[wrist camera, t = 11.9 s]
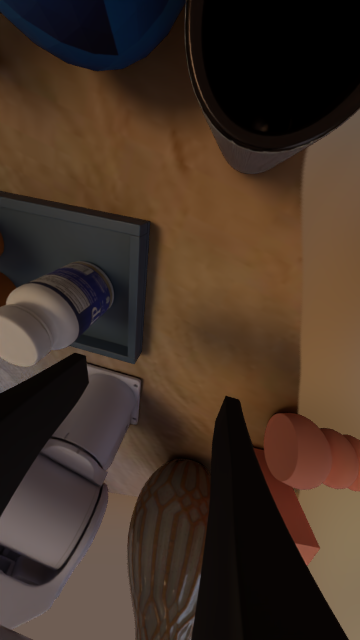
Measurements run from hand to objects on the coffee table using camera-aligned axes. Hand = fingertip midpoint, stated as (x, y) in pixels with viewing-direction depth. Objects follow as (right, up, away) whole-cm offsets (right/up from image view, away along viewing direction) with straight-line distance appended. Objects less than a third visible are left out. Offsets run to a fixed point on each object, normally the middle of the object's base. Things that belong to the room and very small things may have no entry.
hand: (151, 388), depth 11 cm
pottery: (+10, -14, +12) cm, 21 cm away
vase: (+3, -21, +24) cm, 32 cm away
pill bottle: (-7, +7, +10) cm, 14 cm away
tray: (-12, +8, +11) cm, 18 cm away
